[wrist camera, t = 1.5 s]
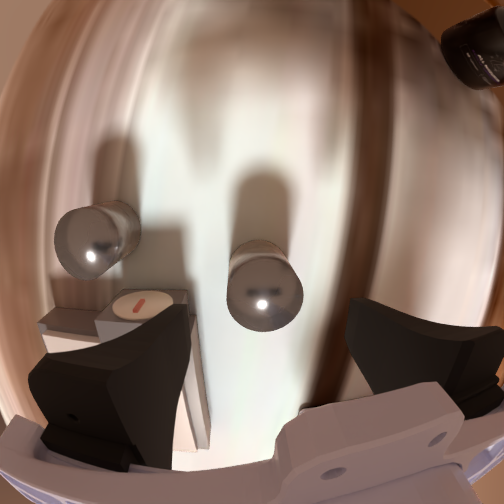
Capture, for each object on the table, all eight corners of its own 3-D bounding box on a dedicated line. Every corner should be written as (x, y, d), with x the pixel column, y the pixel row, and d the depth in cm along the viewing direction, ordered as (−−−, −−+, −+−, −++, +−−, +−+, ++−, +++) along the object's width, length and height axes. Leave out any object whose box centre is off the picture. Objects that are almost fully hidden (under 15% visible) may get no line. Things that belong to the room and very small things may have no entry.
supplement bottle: (448, 82, 16) (548, 56, 4) (430, 22, 14) (509, -22, 2) (489, 98, 16) (575, 88, 4) (473, 42, 14) (548, 18, 2)
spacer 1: (139, 198, 17) (107, 206, 12) (143, 256, 18) (115, 280, 13) (90, 202, 17) (50, 211, 12) (95, 256, 18) (60, 279, 13)
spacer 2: (288, 239, 19) (305, 260, 14) (285, 294, 20) (300, 329, 15) (228, 240, 18) (225, 262, 14) (229, 296, 19) (228, 332, 15)
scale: (193, 284, 19) (180, 318, 14) (210, 426, 23) (208, 465, 18) (48, 281, 18) (14, 305, 13) (94, 412, 22) (79, 443, 17)
